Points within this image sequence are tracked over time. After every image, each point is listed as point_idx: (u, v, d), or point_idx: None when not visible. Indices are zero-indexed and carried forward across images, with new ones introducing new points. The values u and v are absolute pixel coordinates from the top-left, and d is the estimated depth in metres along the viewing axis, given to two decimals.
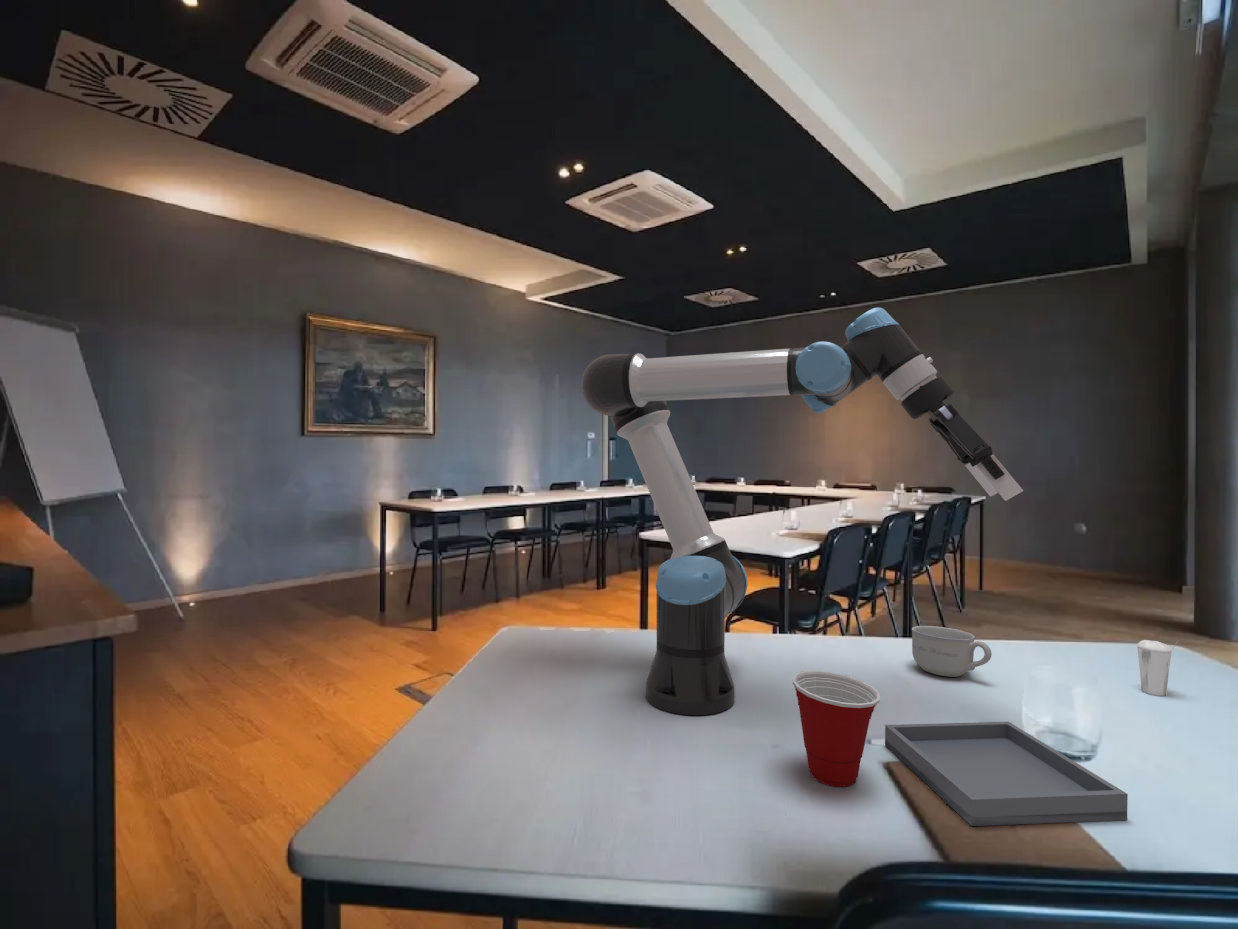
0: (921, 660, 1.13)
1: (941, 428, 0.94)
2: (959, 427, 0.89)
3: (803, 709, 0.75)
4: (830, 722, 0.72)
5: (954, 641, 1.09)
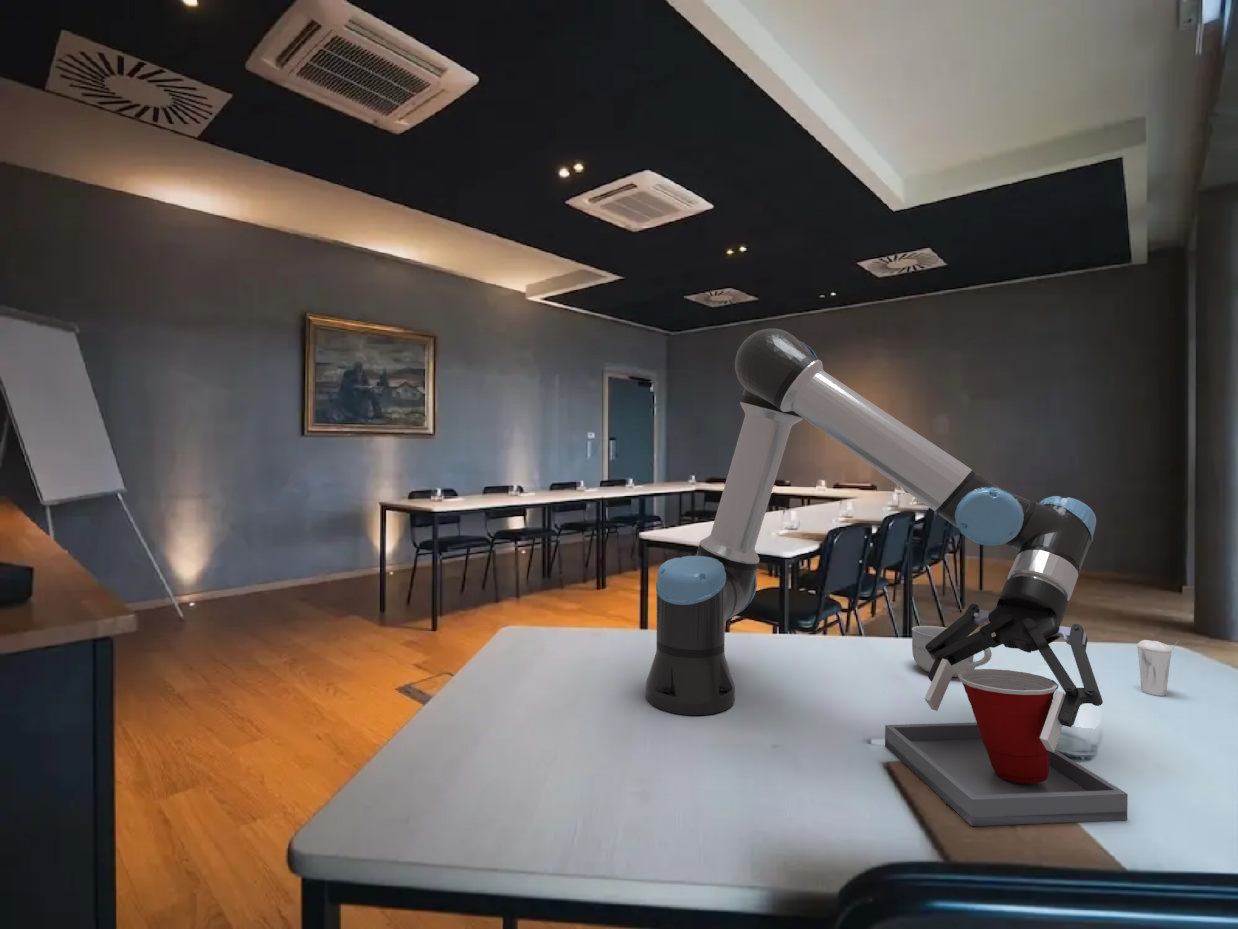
0: (921, 660, 1.13)
1: (1041, 633, 0.77)
2: (1087, 659, 0.73)
3: (979, 705, 0.74)
4: (1013, 714, 0.71)
5: None
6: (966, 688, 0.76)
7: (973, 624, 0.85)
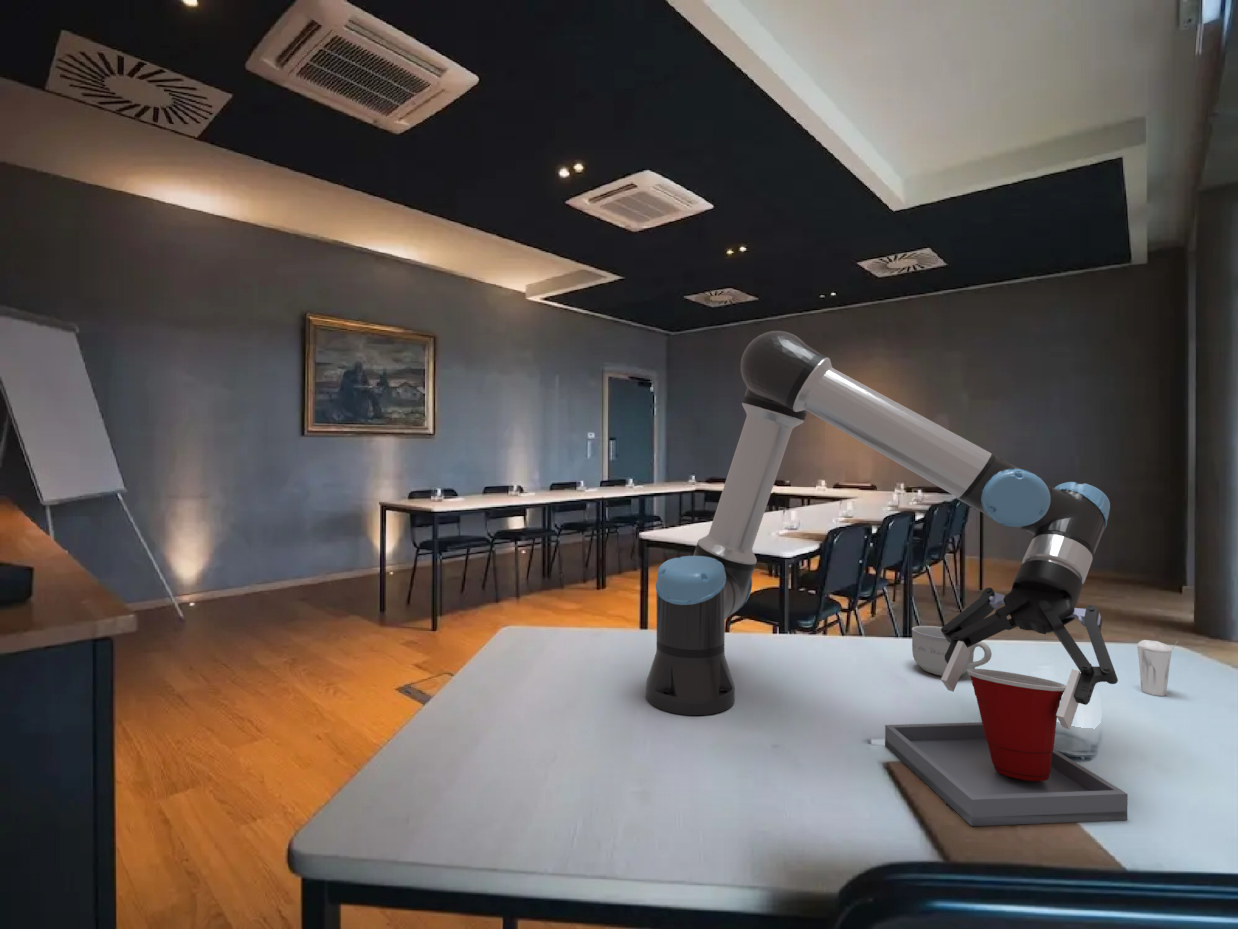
0: (921, 660, 1.13)
1: None
2: (1102, 639, 0.74)
3: (987, 699, 0.75)
4: (1021, 708, 0.72)
5: None
6: (975, 681, 0.77)
7: (988, 607, 0.86)
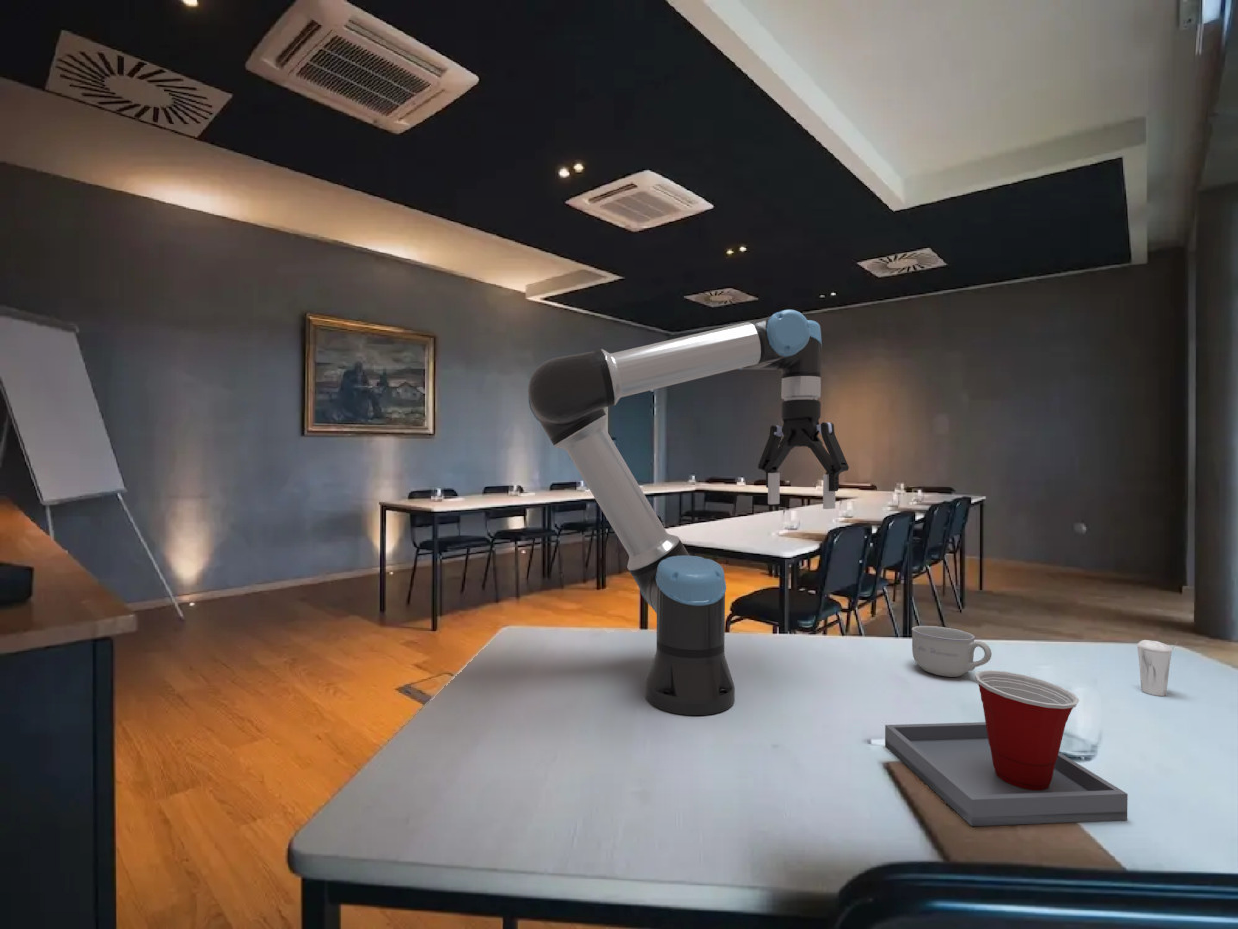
0: (921, 660, 1.13)
1: (807, 436, 1.15)
2: (834, 443, 1.11)
3: (994, 710, 0.73)
4: (1030, 723, 0.70)
5: (954, 641, 1.09)
6: (983, 691, 0.74)
7: (777, 438, 1.23)
